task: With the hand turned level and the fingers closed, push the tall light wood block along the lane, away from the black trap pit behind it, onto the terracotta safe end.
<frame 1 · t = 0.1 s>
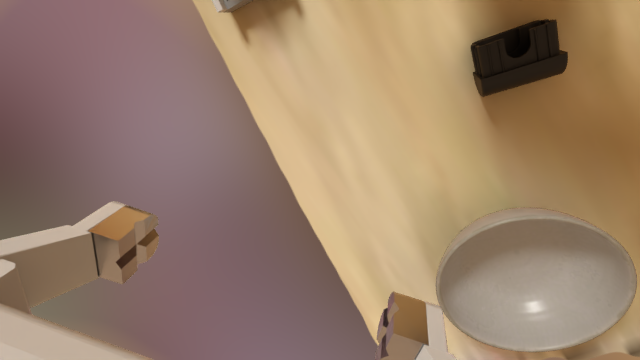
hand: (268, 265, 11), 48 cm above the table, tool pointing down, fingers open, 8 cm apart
decorative bowl: (507, 243, 62), on the table
end cap: (507, 56, 49), on the table
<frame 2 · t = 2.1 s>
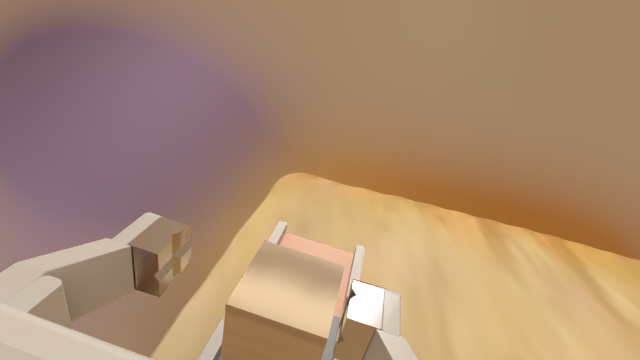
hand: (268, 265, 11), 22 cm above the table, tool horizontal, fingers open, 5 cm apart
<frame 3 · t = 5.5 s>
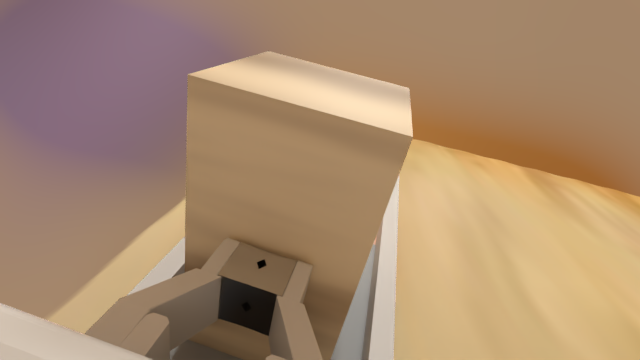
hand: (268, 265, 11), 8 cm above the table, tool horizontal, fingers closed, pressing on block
block: (274, 306, 16), point 3 cm above the table, touching gripper, lane
lane: (261, 358, 17), on the table
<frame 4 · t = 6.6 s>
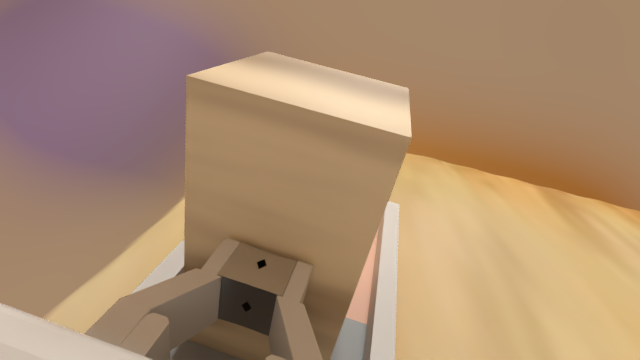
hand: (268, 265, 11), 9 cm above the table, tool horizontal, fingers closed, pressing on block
block: (274, 306, 16), point 3 cm above the table, touching gripper, lane
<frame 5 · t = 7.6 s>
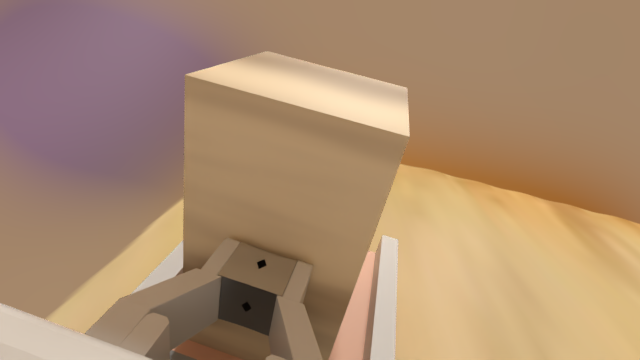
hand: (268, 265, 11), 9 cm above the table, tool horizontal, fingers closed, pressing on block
block: (273, 305, 16), point 3 cm above the table, touching gripper
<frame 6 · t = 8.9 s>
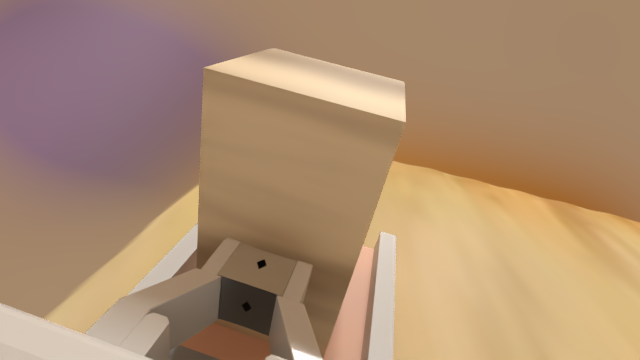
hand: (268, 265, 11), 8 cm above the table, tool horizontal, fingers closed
block: (279, 288, 17), point 3 cm above the table, touching lane
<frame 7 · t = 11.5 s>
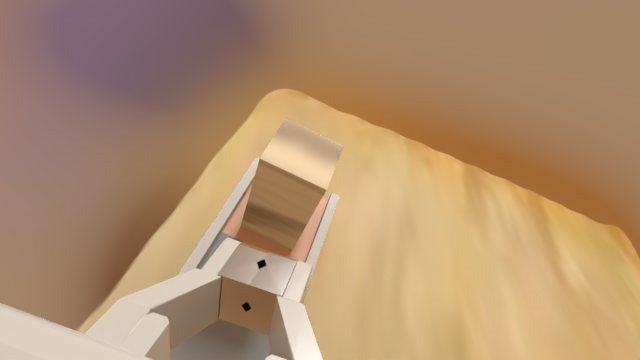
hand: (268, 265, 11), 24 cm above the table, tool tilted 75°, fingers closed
block: (276, 217, 37), point 3 cm above the table, touching lane
lane: (220, 335, 31), on the table
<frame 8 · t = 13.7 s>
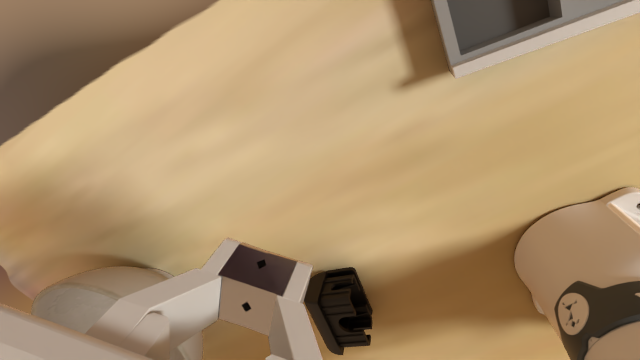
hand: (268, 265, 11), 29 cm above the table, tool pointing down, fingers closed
decorative bowl: (163, 293, 60), on the table
end cap: (341, 291, 51), on the table
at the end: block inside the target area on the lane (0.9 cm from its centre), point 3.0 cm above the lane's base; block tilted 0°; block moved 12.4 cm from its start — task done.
